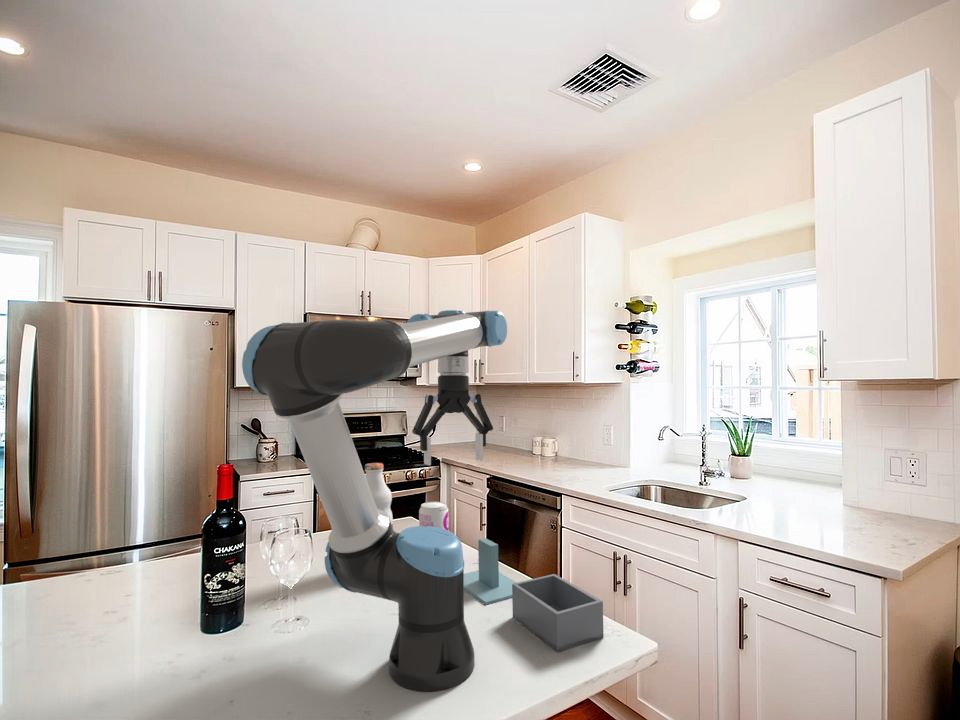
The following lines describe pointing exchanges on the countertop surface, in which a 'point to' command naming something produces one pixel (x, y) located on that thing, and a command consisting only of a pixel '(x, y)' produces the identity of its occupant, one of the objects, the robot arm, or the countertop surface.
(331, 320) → the robot arm
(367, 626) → the countertop surface
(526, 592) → the parts tub
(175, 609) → the countertop surface
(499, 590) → the lid
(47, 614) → the countertop surface
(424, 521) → the supplement can
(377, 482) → the fruit juice
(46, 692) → the countertop surface
